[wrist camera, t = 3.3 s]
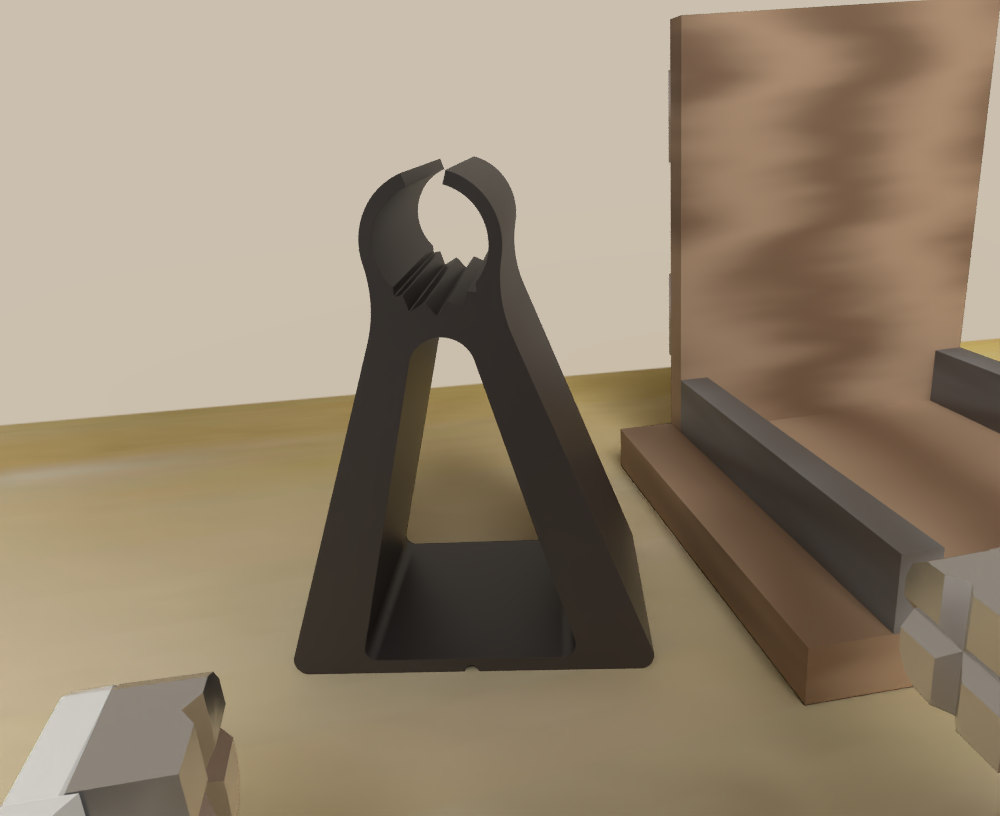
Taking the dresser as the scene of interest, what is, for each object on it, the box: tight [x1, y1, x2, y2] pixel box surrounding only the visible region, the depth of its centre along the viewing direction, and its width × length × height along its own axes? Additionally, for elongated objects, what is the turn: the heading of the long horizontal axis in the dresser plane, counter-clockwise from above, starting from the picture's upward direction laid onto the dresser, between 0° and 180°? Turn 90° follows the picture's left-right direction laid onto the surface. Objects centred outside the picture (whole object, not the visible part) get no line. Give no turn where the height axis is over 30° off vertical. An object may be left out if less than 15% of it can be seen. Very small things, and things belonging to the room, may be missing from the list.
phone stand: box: [294, 157, 654, 674], centre depth 21 cm, size 9×6×12 cm, turn 86°
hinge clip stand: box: [621, 0, 1000, 705], centre depth 24 cm, size 15×15×16 cm
